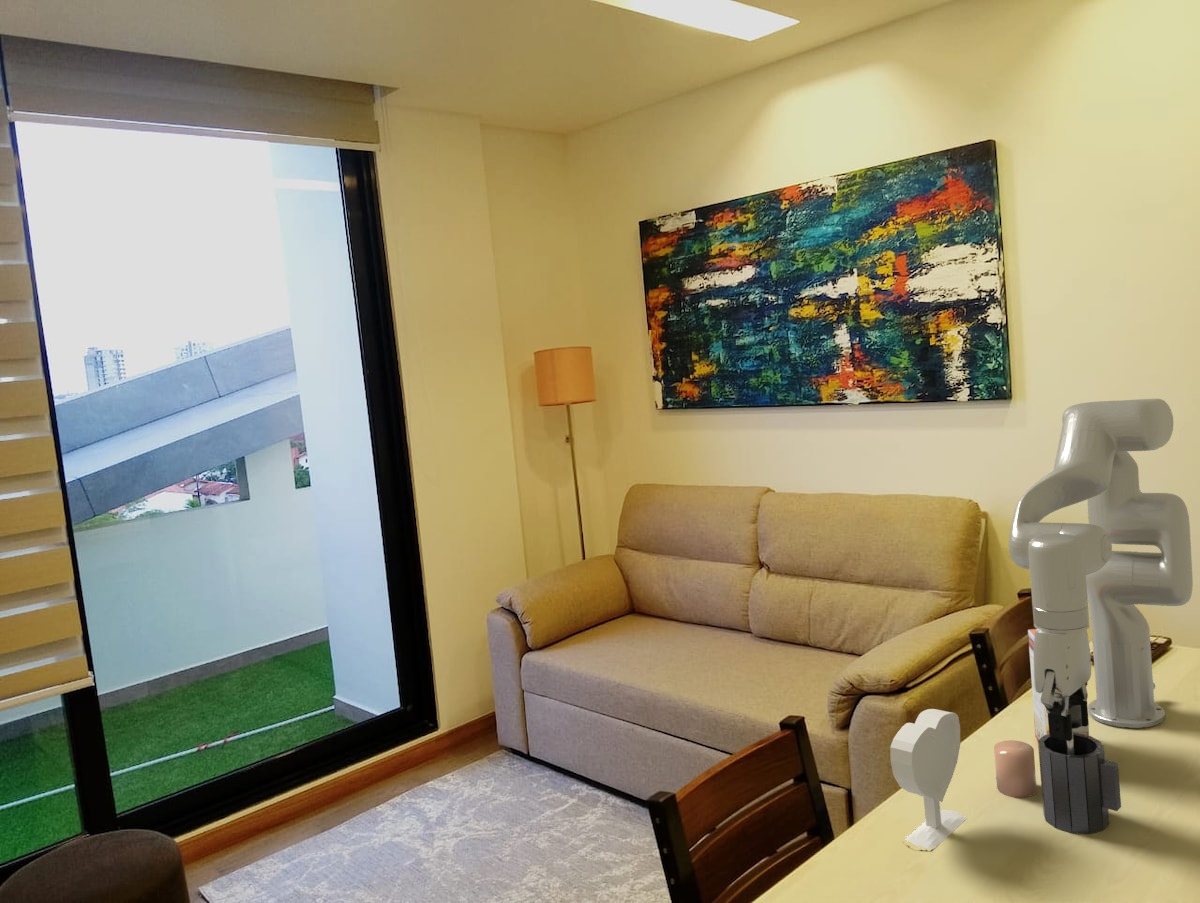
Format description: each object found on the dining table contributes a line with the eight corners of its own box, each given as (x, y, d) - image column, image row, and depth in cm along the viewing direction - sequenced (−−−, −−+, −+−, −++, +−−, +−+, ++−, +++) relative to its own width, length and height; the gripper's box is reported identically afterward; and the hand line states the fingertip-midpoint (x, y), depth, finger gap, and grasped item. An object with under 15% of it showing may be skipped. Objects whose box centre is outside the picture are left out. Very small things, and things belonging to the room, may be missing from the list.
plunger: (1062, 782, 147) (1055, 694, 145) (1102, 792, 142) (1095, 702, 140) (1045, 797, 143) (1038, 707, 141) (1086, 809, 138) (1079, 715, 137)
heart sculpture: (925, 857, 138) (914, 743, 136) (894, 847, 141) (883, 735, 139) (972, 812, 148) (962, 705, 146) (942, 804, 152) (932, 699, 150)
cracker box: (1094, 771, 156) (1085, 652, 154) (1056, 772, 157) (1046, 654, 155) (1069, 735, 169) (1061, 625, 167) (1034, 737, 171) (1025, 627, 168)
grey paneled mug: (1058, 798, 149) (1053, 727, 148) (1131, 818, 141) (1126, 743, 140) (1034, 821, 143) (1028, 748, 142) (1109, 844, 135) (1103, 766, 134)
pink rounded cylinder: (1005, 775, 158) (1002, 737, 157) (1042, 785, 154) (1039, 745, 153) (991, 791, 154) (988, 751, 153) (1028, 801, 150) (1025, 760, 149)
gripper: (1058, 598, 148) (1067, 706, 150) (1010, 629, 137) (1019, 746, 139) (1109, 604, 142) (1117, 716, 144) (1062, 637, 131) (1071, 758, 133)
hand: (1069, 730), depth 141 cm, fingers open, 5 cm apart
